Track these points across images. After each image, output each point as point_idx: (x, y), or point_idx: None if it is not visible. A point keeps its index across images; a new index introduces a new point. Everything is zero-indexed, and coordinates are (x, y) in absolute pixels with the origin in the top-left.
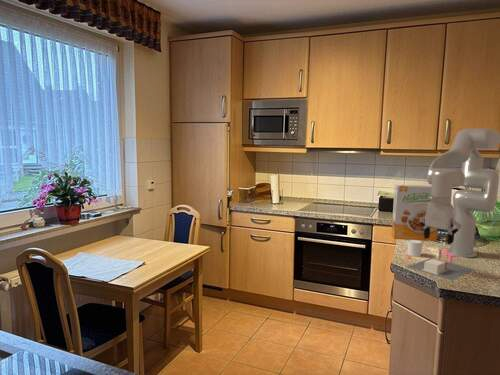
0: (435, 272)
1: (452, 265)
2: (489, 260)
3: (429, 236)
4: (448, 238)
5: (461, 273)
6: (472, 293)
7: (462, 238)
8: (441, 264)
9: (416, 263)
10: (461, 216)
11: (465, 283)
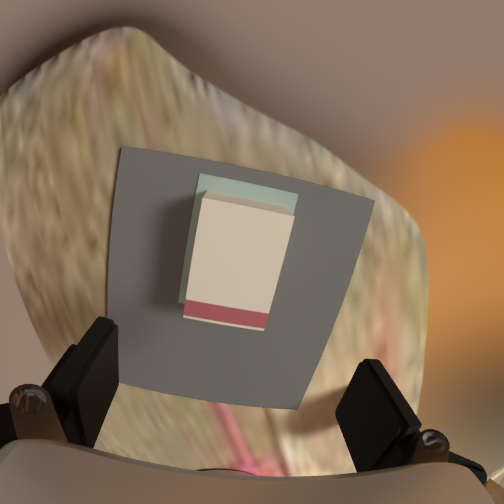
0: (216, 192)
1: (194, 377)
2: None
3: (337, 417)
4: (82, 350)
5: (120, 291)
6: (36, 68)
7: None
8: (194, 249)
9: (343, 292)
10: None
11: (71, 167)
